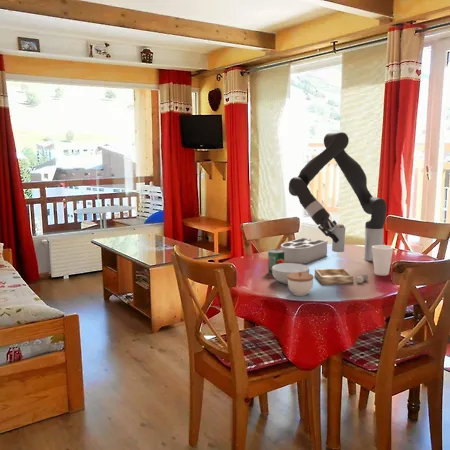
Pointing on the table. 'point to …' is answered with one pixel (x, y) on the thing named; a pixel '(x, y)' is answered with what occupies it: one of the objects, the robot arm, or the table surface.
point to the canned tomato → (275, 258)
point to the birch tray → (333, 276)
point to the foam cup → (382, 258)
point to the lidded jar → (300, 283)
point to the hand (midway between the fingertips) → (340, 240)
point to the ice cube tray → (304, 250)
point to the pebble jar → (340, 233)
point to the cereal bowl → (287, 271)
